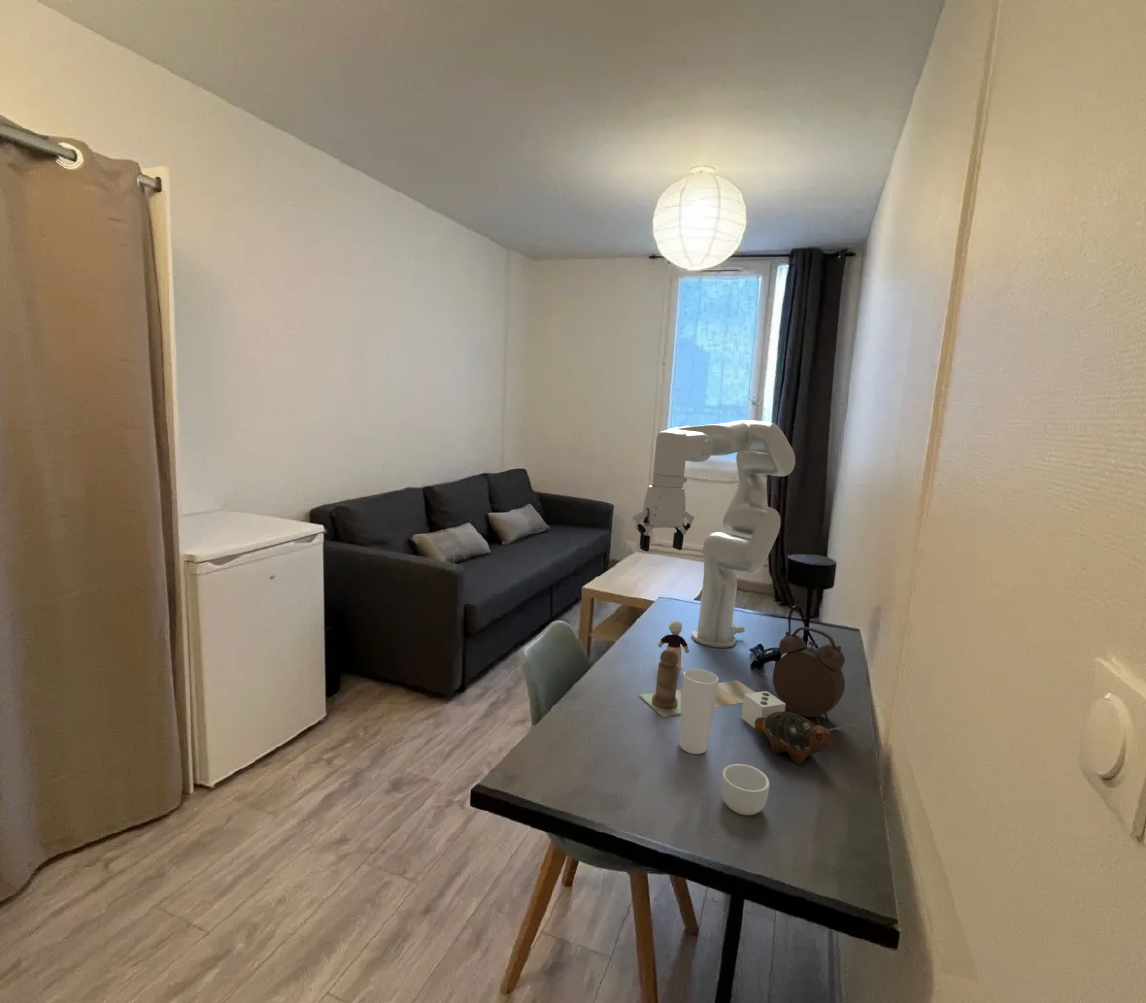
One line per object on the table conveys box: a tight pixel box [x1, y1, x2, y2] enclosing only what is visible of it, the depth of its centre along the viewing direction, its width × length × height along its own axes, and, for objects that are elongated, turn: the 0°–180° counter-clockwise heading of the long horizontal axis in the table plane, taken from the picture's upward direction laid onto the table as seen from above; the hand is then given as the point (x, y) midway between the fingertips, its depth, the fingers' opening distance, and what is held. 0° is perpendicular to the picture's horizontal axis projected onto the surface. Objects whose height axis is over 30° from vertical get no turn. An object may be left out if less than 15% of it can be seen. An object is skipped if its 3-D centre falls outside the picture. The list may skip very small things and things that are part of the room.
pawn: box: [652, 648, 679, 709], centre depth 138 cm, size 6×6×12 cm
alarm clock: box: [772, 626, 846, 724], centre depth 138 cm, size 14×7×20 cm, turn 47°
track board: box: [638, 679, 757, 719], centre depth 143 cm, size 28×10×1 cm, turn 115°
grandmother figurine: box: [657, 620, 690, 672], centre depth 157 cm, size 8×4×13 cm, turn 84°
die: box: [741, 690, 786, 729], centre depth 132 cm, size 6×6×6 cm
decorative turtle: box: [754, 711, 832, 765], centre depth 122 cm, size 10×15×8 cm, turn 50°
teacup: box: [721, 763, 771, 816], centre depth 105 cm, size 10×8×5 cm
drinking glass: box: [678, 668, 719, 755], centre depth 120 cm, size 7×7×15 cm
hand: (660, 549), depth 155 cm, fingers open, 9 cm apart
